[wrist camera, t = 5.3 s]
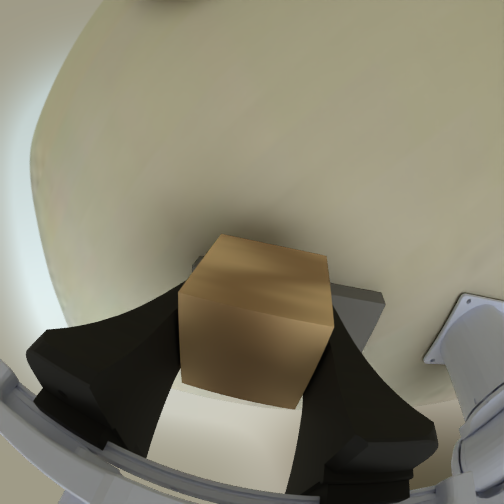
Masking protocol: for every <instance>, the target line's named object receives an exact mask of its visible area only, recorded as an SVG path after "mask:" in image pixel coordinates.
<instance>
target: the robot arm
mask: <svg viewBox="0 0 504 504" xmlns="http://www.w3.org/2000/svg"><path fill="white" fill-rule="evenodd" d="M186 281H187V280H186ZM186 281H184V282H183V283H181V284H180V285H178V286H176V287H175V288H173V289H171V290H170V291H168V292H166V293H165V294H163V295H161V296H159V297H157V298H156V299H154V300H152V301H150V302H148V303H146V304H144V305H142V306H140V307H138V308H136V309H133V310H131V311H128V312H126V313H123V314H121V315H118V316H115V317H112V318H108V319H105V320H102V321H99V322H95V323H90V324H86V325H81V326H76V327H69V328H60V329H51V330H50V329H49V330H46V331H45V332H44V333H43V334H42V335H41V336H40V337H39V338H38V339H37V340H36V341H35V342H34V343H33V344H32V346H31V347H30V348H29V349H28V350H27V351H26V358H27V361H28V363H29V365H30V367H31V369H32V370H33V372H34V374H35V376H36V377H37V379H38V381H39V382H40V384H41V385H42V387H43V389H42V390H41V391H40V393H39V394H38V395H37V396H36V395H35V394H34V393H32V392H31V391H30V390H29V389H27V388H26V387H25V386H23V385H22V384H21V383H20V382H19V380H18V378H17V377H16V375H15V374H14V372H13V371H12V370H11V369H10V368H9V366H7V365H6V364H5V363H4V362H3V361H2V360H1V359H0V434H1V435H2V436H3V437H4V438H5V439H6V440H7V441H8V442H9V443H10V444H11V445H12V446H13V447H14V448H15V449H16V450H17V451H18V452H19V453H21V454H22V455H23V456H24V457H25V458H26V459H27V460H28V461H29V462H31V463H32V464H33V465H34V466H35V467H36V468H38V469H39V470H40V471H41V472H42V473H44V474H45V475H46V476H47V477H49V478H50V479H51V480H53V481H54V482H55V483H57V484H58V485H59V486H61V487H62V488H64V489H65V491H64V493H63V495H62V497H61V498H60V501H59V502H58V504H198V503H194V502H191V501H187V500H184V499H181V498H178V497H175V496H172V495H169V494H166V493H163V492H160V491H158V490H155V489H152V488H150V487H147V486H145V485H143V484H140V483H138V482H135V481H133V480H131V479H128V478H126V477H124V476H123V475H122V474H121V473H120V471H119V469H117V468H115V467H114V466H116V467H118V468H120V469H122V470H124V471H126V472H128V473H131V474H133V475H135V476H137V477H139V478H142V479H144V480H147V481H149V482H152V483H154V484H157V485H159V486H162V487H164V488H167V489H171V490H173V491H176V492H179V493H182V494H186V495H188V496H192V497H195V498H199V499H202V500H206V501H210V502H214V503H218V504H504V301H501V300H496V299H491V298H486V297H481V296H476V295H471V294H467V293H464V294H462V295H461V296H460V298H459V300H458V302H457V304H456V305H455V307H454V309H453V311H452V313H451V315H450V316H449V318H448V320H447V322H446V323H445V325H444V327H443V329H442V330H441V332H440V333H439V335H438V337H437V338H436V340H435V342H434V343H433V345H432V346H431V348H430V349H429V351H428V352H427V354H426V355H425V357H424V359H423V360H424V363H427V364H445V365H446V368H447V370H448V373H449V375H450V378H451V381H452V384H453V386H454V389H455V392H456V395H457V398H458V401H459V404H460V406H461V410H462V413H463V417H464V420H465V424H463V425H462V426H461V427H460V428H459V431H460V435H461V438H460V439H459V440H458V441H457V442H456V444H455V447H454V450H453V455H452V461H451V468H452V475H453V476H451V477H449V478H447V479H445V480H443V481H441V482H439V483H438V484H437V485H435V486H430V487H426V488H421V489H415V490H410V489H409V479H412V478H413V468H415V467H416V466H418V465H419V464H421V463H422V462H424V461H425V460H426V459H428V458H429V457H430V456H432V455H433V454H434V452H435V451H436V450H437V448H438V439H437V435H436V430H435V426H434V422H432V421H431V420H429V419H428V418H427V417H425V416H424V415H422V414H421V413H419V412H418V411H417V410H415V409H414V408H413V407H411V406H410V405H409V404H408V403H407V402H405V401H404V400H403V399H402V398H401V397H400V396H399V395H397V394H396V393H395V392H394V391H393V390H392V389H391V388H390V387H389V386H388V385H387V384H386V383H385V382H384V381H383V380H382V378H381V377H380V376H379V375H378V374H377V373H376V371H375V370H374V369H373V368H372V367H371V365H370V364H369V363H368V362H367V360H366V359H365V358H364V356H363V355H362V353H361V352H360V350H359V349H358V347H357V346H356V344H355V343H354V341H353V339H352V338H351V336H350V334H349V333H348V331H347V329H346V328H345V326H344V324H343V322H342V320H341V319H340V317H339V315H338V313H337V311H336V309H335V308H334V306H333V305H332V308H333V319H334V329H333V331H332V334H331V336H330V338H329V340H328V343H327V345H326V347H325V349H324V352H323V354H322V356H321V358H320V360H319V362H318V365H317V367H316V369H315V371H314V373H313V375H312V377H311V379H310V381H309V383H308V385H307V387H306V389H305V391H304V393H303V407H302V416H301V423H300V429H299V436H298V441H297V446H296V451H295V456H294V461H293V465H292V470H291V474H290V477H289V481H288V485H287V489H286V492H285V494H280V493H273V492H265V491H259V490H253V489H248V488H242V487H237V486H232V485H228V484H223V483H219V482H215V481H211V480H208V479H204V478H200V477H197V476H194V475H190V474H187V473H184V472H181V471H178V470H175V469H172V468H169V467H167V466H164V465H161V464H159V463H156V462H153V461H151V460H148V459H146V457H147V454H148V451H149V447H150V444H151V441H152V438H153V435H154V432H155V429H156V426H157V423H158V420H159V417H160V415H161V412H162V409H163V407H164V404H165V401H166V399H167V396H168V394H169V391H170V389H171V387H172V384H173V382H174V380H175V378H176V376H177V374H178V372H179V370H180V368H181V362H180V343H179V314H178V292H179V290H180V289H181V288H182V286H183V285H184V283H185V282H186ZM468 299H469V300H468ZM467 300H468V301H467ZM107 462H108V463H107ZM109 463H110V464H112V465H114V466H112V465H110V464H109Z"/></svg>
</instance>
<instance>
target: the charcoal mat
mask: <svg viewBox="0 0 504 504" xmlns="http://www.w3.org/2000/svg"><path fill="white" fill-rule="evenodd" d="M203 258H204V257H200V256H199V258H198V259H197V260H196V262H195V263H194V264H193V266H192V272H193V271H194V270H195V268H196V267H197V266H198V264H199V263H200V262H201V260H202V259H203ZM330 289H331V298H332V305H333V306H334V308H335V309H336V311H337V313H338V315H339V317H340V319H341V320H342V322H343V324H344V326H345V328H346V329H347V331H348V333H349V334H350V336H351V338H352V339H353V341H354V343H355V344H356V346H357V347H358V349H359V350H360V352H361V353H362V351H363V349H364V347H365V345H366V343H367V341H368V339H369V338H370V336H371V334H372V332H373V330H374V328H375V326H376V324H377V322H378V320H379V317H380V315H381V313H382V311H383V309H384V307H385V305H386V304H385V301H384V298H383V296H382V293H380V292H374V291H369V290H364V289H358V288H353V287H348V286H343V285H338V284H332V283H330Z"/></svg>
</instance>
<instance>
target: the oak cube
mask: <svg viewBox="0 0 504 504" xmlns="http://www.w3.org/2000/svg"><path fill="white" fill-rule="evenodd" d="M178 314H179V343H180V362H181V377H182V383H184V384H187V385H191V386H194V387H197V388H201V389H204V390H208V391H211V392H215V393H219V394H222V395H226V396H230V397H234V398H238V399H243V400H247V401H252V402H256V403H261V404H266V405H271V406H277V407H282V408H288V409H294V410H295V408H296V406H297V404H298V402H299V401H300V399H301V397H302V395H303V393H304V391H305V389H306V387H307V385H308V383H309V381H310V379H311V377H312V375H313V373H314V371H315V369H316V367H317V365H318V362H319V360H320V358H321V356H322V354H323V352H324V349H325V347H326V345H327V343H328V340H329V338H330V336H331V334H332V331H333V329H334V319H333V308H332V298H331V289H330V280H329V272H328V264H327V256H324V255H319V254H315V253H310V252H305V251H301V250H296V249H291V248H286V247H282V246H277V245H272V244H267V243H263V242H258V241H253V240H248V239H243V238H238V237H234V236H229V235H224V234H221V235H220V236H219V238H218V239H217V240H216V242H215V243H214V244H213V246H212V247H211V248H210V250H209V251H208V252H207V254H206V255H205V256H204V258H203V259H202V260H201V262H200V263H199V264H198V266H197V267H196V268H195V270H194V271H193V272H192V274H191V275H190V277H189V278H188V279H187V281H186V282H185V283H184V285H183V286H182V288H181V289H180V290H179V292H178Z"/></svg>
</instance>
